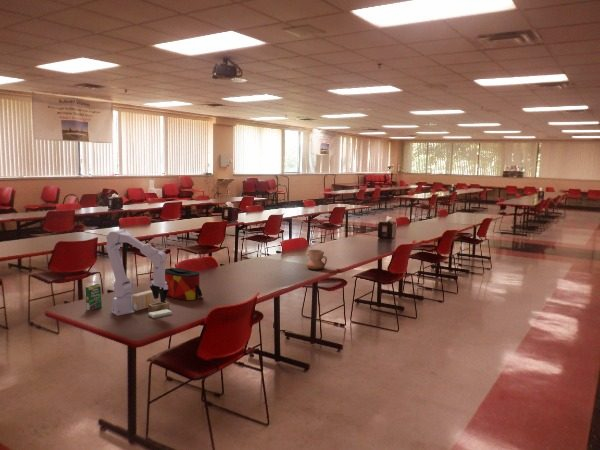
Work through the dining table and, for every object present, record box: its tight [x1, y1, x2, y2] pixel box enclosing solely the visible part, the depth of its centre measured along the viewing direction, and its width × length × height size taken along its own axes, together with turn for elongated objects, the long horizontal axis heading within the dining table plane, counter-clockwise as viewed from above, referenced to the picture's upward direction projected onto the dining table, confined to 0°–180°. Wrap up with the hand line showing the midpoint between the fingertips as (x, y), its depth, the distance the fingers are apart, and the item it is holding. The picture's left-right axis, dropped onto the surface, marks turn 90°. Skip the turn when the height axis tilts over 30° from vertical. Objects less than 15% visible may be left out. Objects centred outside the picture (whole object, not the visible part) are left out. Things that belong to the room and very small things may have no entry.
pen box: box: [147, 300, 170, 313], centre depth 255 cm, size 10×4×4 cm, turn 133°
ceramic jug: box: [305, 249, 328, 271], centre depth 365 cm, size 18×14×14 cm
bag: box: [165, 267, 203, 302], centre depth 284 cm, size 30×14×16 cm, turn 59°
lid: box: [147, 309, 173, 319], centre depth 249 cm, size 11×5×1 cm, turn 133°
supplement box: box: [131, 289, 157, 311], centre depth 261 cm, size 8×5×13 cm
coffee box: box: [84, 283, 103, 312], centre depth 256 cm, size 8×3×13 cm, turn 151°
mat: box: [147, 313, 173, 319], centre depth 249 cm, size 10×7×1 cm
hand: (159, 300), depth 248 cm, fingers open, 7 cm apart
